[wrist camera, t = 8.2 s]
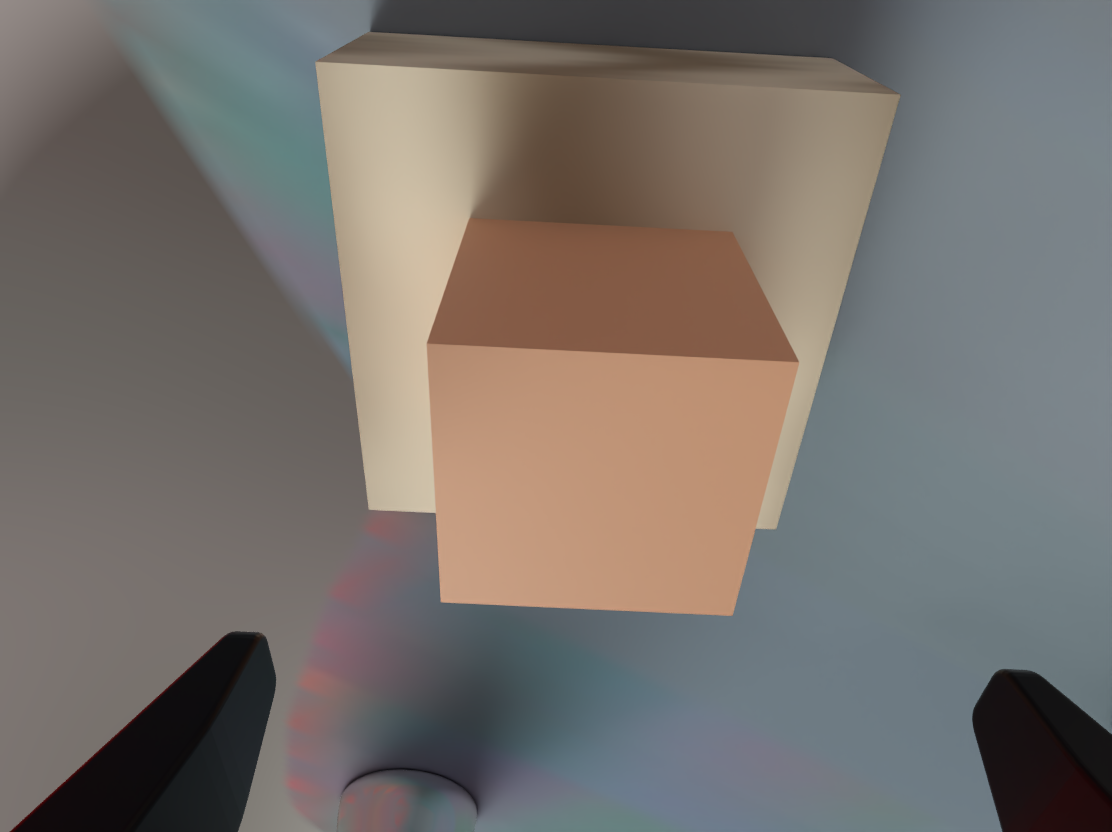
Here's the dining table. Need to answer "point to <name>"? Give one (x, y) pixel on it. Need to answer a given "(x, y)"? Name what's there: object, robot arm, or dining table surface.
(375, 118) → the birch block
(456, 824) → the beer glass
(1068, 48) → the dining table surface
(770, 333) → the terracotta cube
